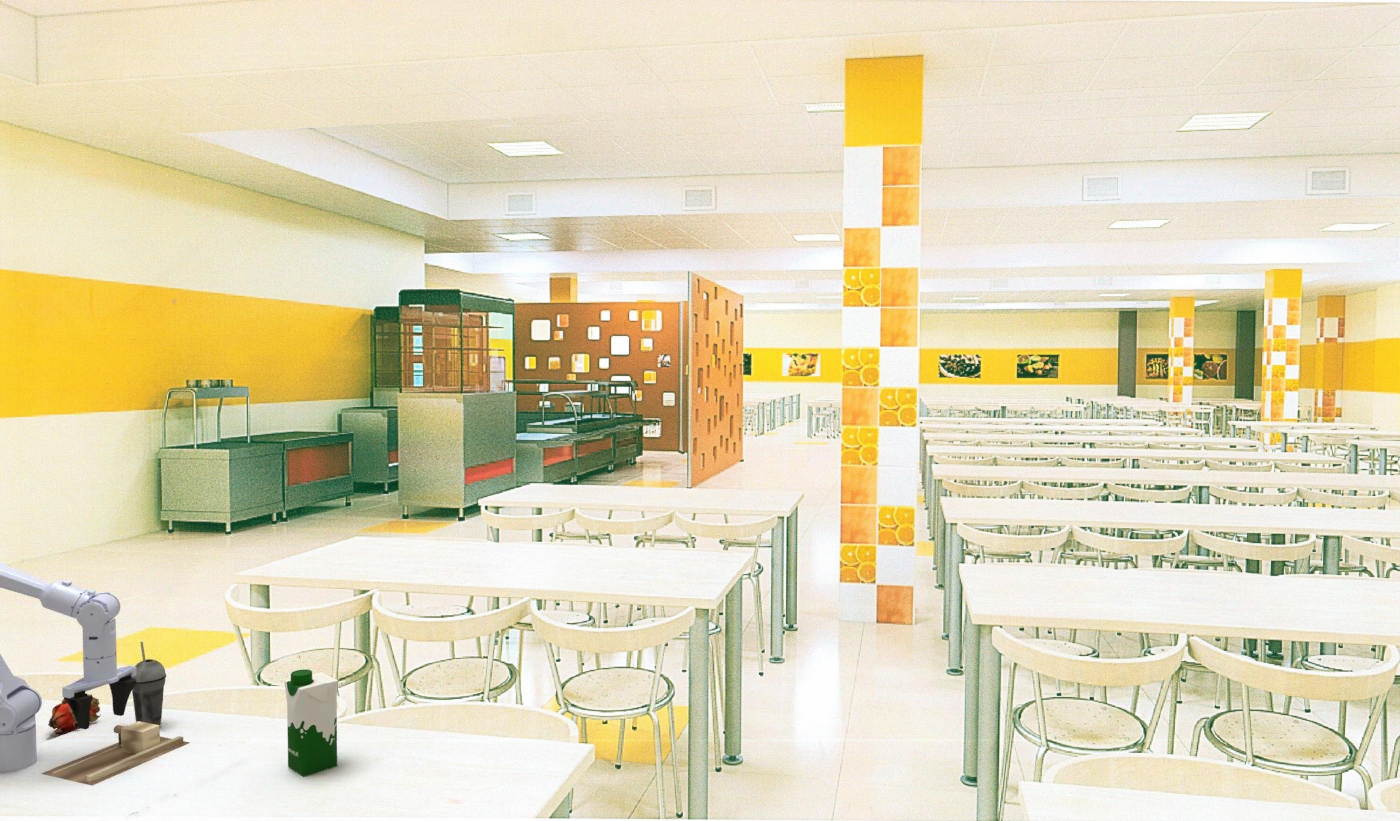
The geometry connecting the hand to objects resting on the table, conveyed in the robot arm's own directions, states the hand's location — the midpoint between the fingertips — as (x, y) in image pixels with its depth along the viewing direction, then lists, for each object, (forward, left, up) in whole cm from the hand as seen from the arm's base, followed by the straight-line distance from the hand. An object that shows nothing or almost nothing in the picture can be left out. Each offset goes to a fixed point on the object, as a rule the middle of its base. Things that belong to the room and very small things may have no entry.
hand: (101, 721), depth 195 cm
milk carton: (+39, +16, -10) cm, 43 cm away
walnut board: (+2, +2, -9) cm, 10 cm away
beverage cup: (-9, +18, -10) cm, 22 cm away
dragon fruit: (-23, +11, -10) cm, 27 cm away
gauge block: (+1, +6, -8) cm, 10 cm away
